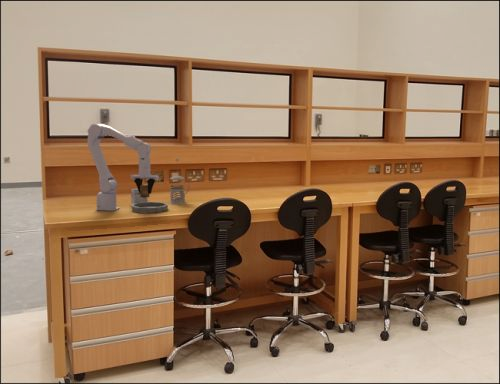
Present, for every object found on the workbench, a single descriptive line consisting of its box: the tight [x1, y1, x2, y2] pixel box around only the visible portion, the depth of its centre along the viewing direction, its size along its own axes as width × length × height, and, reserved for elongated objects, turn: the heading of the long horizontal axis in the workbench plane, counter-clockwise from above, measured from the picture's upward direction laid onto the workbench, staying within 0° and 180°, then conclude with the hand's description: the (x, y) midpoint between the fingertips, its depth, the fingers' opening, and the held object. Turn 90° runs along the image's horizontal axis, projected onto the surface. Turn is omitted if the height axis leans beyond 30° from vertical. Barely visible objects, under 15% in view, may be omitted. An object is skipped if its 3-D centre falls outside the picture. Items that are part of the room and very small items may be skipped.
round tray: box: [131, 201, 169, 214], centre depth 253 cm, size 18×18×3 cm
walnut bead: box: [140, 183, 151, 198], centre depth 249 cm, size 4×4×6 cm
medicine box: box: [130, 188, 149, 205], centre depth 269 cm, size 8×4×9 cm, turn 126°
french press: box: [168, 158, 191, 205], centre depth 275 cm, size 10×12×25 cm
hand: (145, 193), depth 249 cm, fingers closed on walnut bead, 4 cm apart
